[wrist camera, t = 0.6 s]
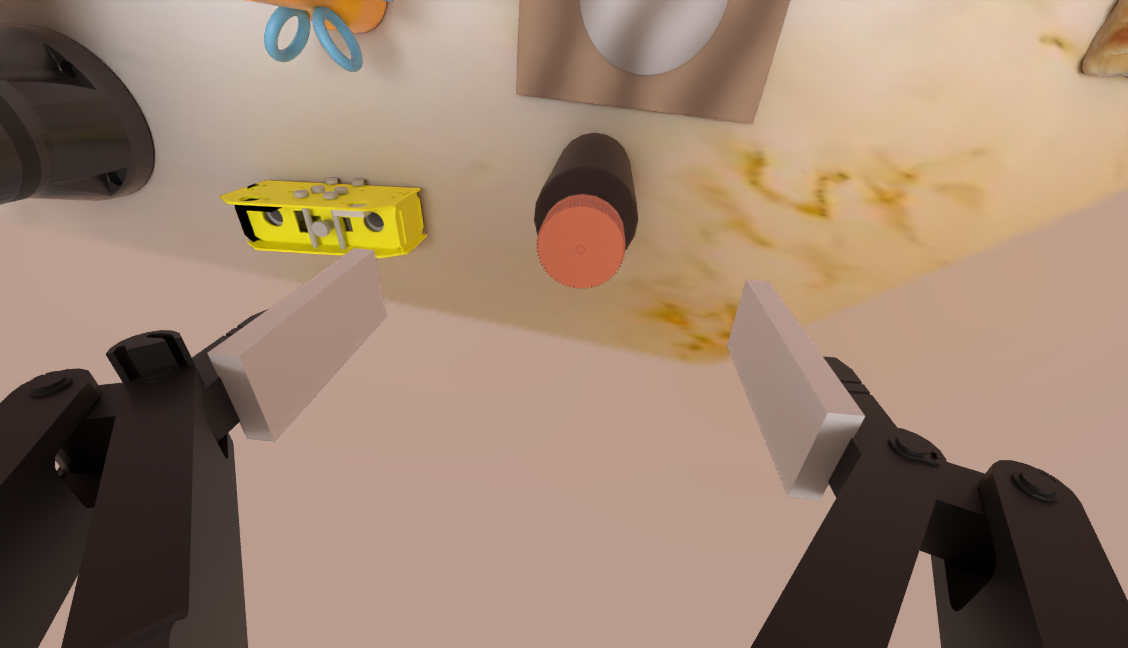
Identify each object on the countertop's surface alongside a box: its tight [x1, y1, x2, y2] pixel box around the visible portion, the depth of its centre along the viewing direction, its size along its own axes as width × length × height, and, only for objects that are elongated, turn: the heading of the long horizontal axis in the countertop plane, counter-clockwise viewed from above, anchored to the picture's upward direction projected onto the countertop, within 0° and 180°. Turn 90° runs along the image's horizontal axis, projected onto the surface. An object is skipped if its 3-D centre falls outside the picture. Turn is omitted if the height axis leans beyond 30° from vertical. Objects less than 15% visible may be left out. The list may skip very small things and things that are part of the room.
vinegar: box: [534, 133, 638, 289], centre depth 32 cm, size 7×7×20 cm
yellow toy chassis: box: [220, 178, 427, 258], centre depth 42 cm, size 16×6×8 cm, turn 89°
